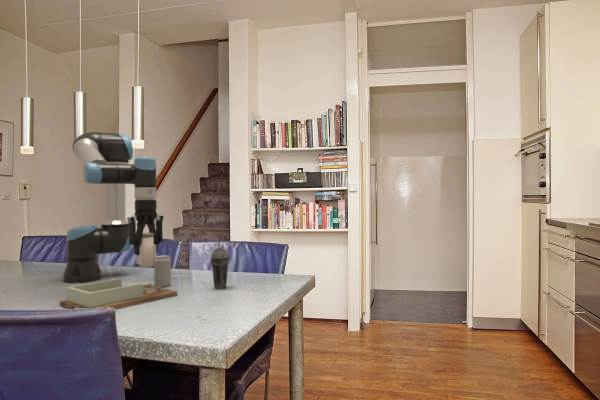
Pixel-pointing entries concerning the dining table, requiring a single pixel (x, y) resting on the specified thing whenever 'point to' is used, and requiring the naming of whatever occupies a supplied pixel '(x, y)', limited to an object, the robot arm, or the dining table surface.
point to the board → (148, 295)
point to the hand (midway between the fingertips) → (146, 262)
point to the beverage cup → (220, 267)
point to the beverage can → (162, 271)
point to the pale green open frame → (103, 293)
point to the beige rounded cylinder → (147, 250)
